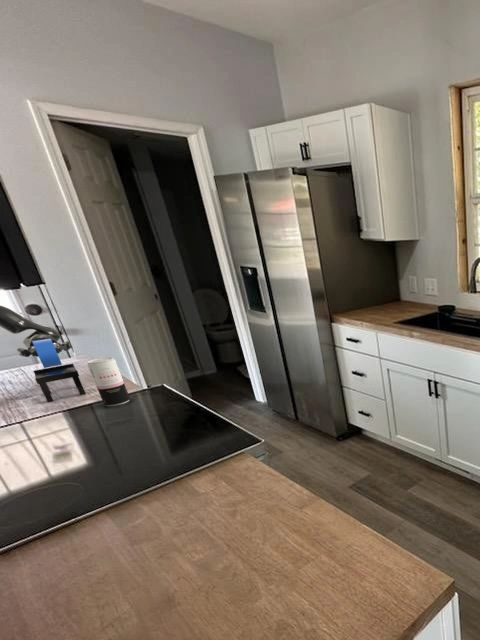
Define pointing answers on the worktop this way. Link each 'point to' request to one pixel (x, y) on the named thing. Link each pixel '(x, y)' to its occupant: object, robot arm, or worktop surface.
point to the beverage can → (108, 381)
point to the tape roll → (47, 353)
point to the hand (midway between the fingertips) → (46, 352)
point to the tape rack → (57, 378)
